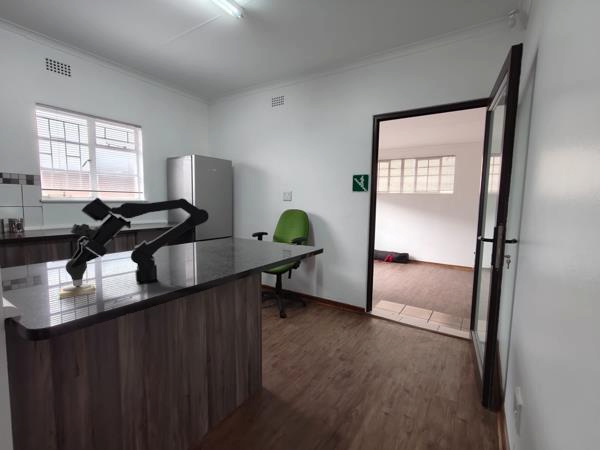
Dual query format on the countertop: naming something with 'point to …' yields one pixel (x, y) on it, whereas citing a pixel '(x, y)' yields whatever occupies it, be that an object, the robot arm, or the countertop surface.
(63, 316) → the countertop surface
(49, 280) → the countertop surface
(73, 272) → the light bulb
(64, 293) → the plinth
